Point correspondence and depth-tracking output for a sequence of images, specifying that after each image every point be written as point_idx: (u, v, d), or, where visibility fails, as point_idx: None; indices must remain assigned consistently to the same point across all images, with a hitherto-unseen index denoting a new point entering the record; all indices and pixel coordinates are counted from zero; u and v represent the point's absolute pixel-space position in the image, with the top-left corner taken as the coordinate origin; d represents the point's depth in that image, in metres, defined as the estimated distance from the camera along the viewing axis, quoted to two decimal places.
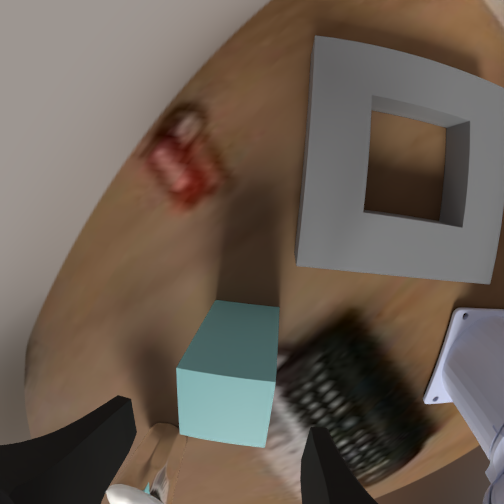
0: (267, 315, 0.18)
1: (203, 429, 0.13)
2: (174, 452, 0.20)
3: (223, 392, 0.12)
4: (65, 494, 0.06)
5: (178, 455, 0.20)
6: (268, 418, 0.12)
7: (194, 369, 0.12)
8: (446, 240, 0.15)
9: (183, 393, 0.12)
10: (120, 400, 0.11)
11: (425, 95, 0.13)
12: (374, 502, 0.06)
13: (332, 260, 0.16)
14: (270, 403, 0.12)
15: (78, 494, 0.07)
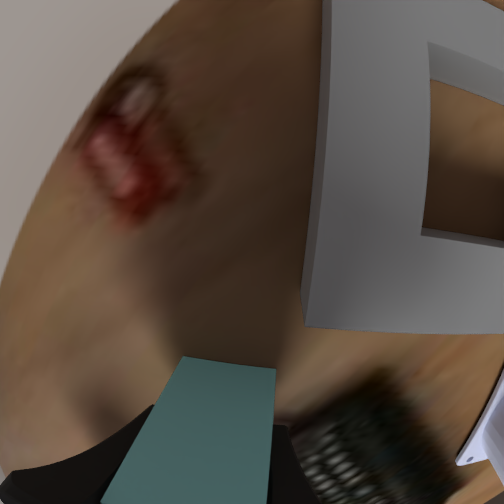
0: (257, 386, 0.11)
1: None
2: None
3: None
4: None
5: None
6: None
7: None
8: None
9: None
10: None
11: (499, 53, 0.06)
12: None
13: (365, 316, 0.09)
14: None
15: None
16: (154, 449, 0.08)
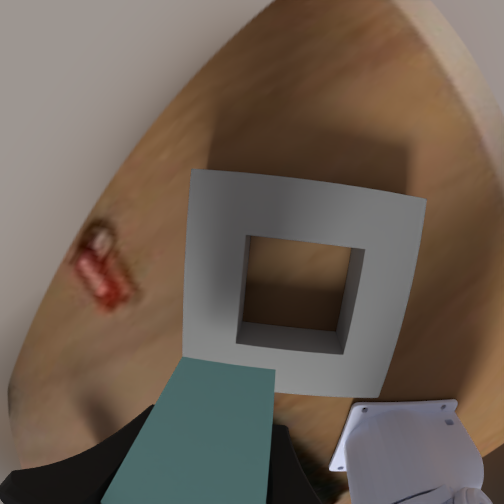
0: (257, 387, 0.11)
1: None
2: None
3: None
4: None
5: None
6: None
7: None
8: (323, 365, 0.17)
9: None
10: None
11: (309, 228, 0.15)
12: None
13: None
14: None
15: None
16: (154, 449, 0.08)
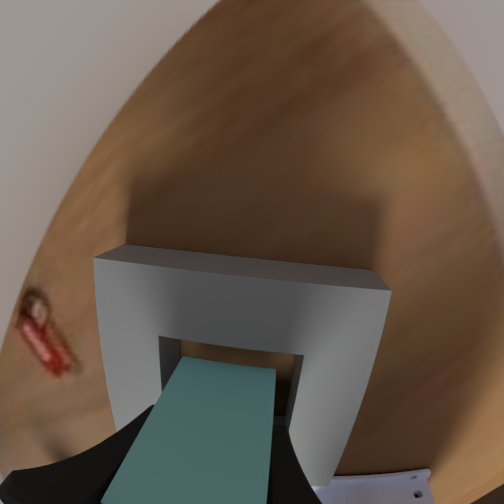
0: (257, 386, 0.11)
1: None
2: None
3: None
4: None
5: None
6: None
7: None
8: None
9: None
10: None
11: (231, 332, 0.12)
12: None
13: None
14: None
15: None
16: (154, 449, 0.08)
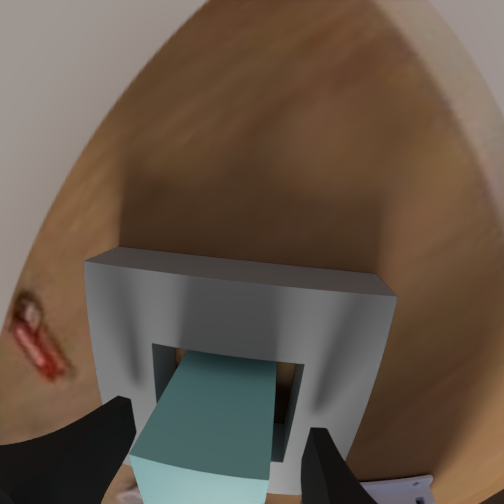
0: (261, 360, 0.13)
1: None
2: None
3: (196, 486, 0.07)
4: (65, 494, 0.06)
5: None
6: None
7: (154, 458, 0.07)
8: None
9: (144, 480, 0.07)
10: (120, 400, 0.11)
11: (227, 339, 0.12)
12: (374, 502, 0.06)
13: None
14: (262, 500, 0.07)
15: (78, 494, 0.07)
16: (174, 410, 0.10)
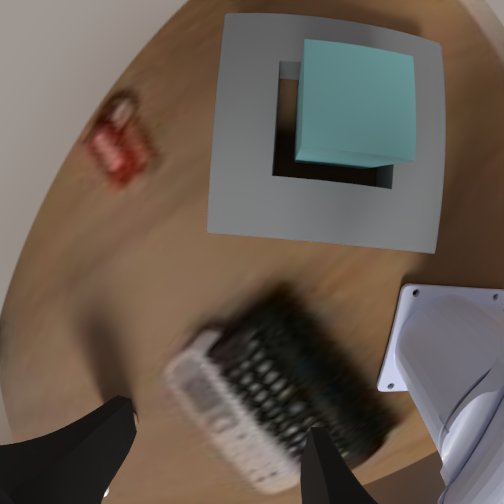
0: None
1: (336, 129, 0.10)
2: None
3: (361, 65, 0.09)
4: (65, 494, 0.06)
5: None
6: (414, 105, 0.09)
7: (325, 42, 0.09)
8: (372, 203, 0.15)
9: (312, 71, 0.09)
10: (120, 400, 0.11)
11: None
12: (374, 502, 0.06)
13: (242, 226, 0.16)
14: (413, 82, 0.09)
15: (78, 494, 0.07)
16: None
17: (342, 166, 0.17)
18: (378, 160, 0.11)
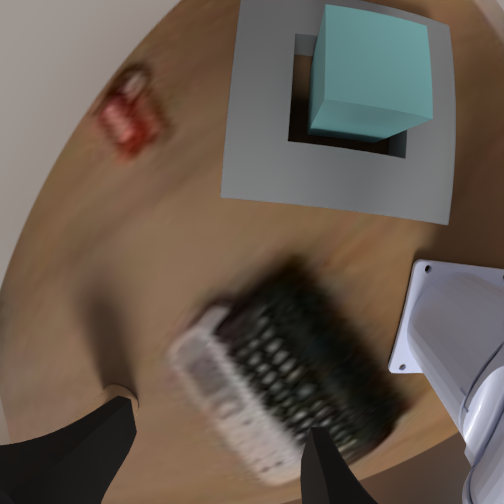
0: None
1: (358, 85, 0.09)
2: None
3: (379, 30, 0.09)
4: (65, 494, 0.06)
5: None
6: (429, 69, 0.09)
7: (345, 8, 0.09)
8: (387, 171, 0.14)
9: (333, 32, 0.09)
10: (120, 400, 0.11)
11: None
12: (374, 502, 0.06)
13: (257, 191, 0.15)
14: (427, 48, 0.09)
15: (78, 494, 0.07)
16: None
17: (355, 138, 0.16)
18: (395, 122, 0.11)
